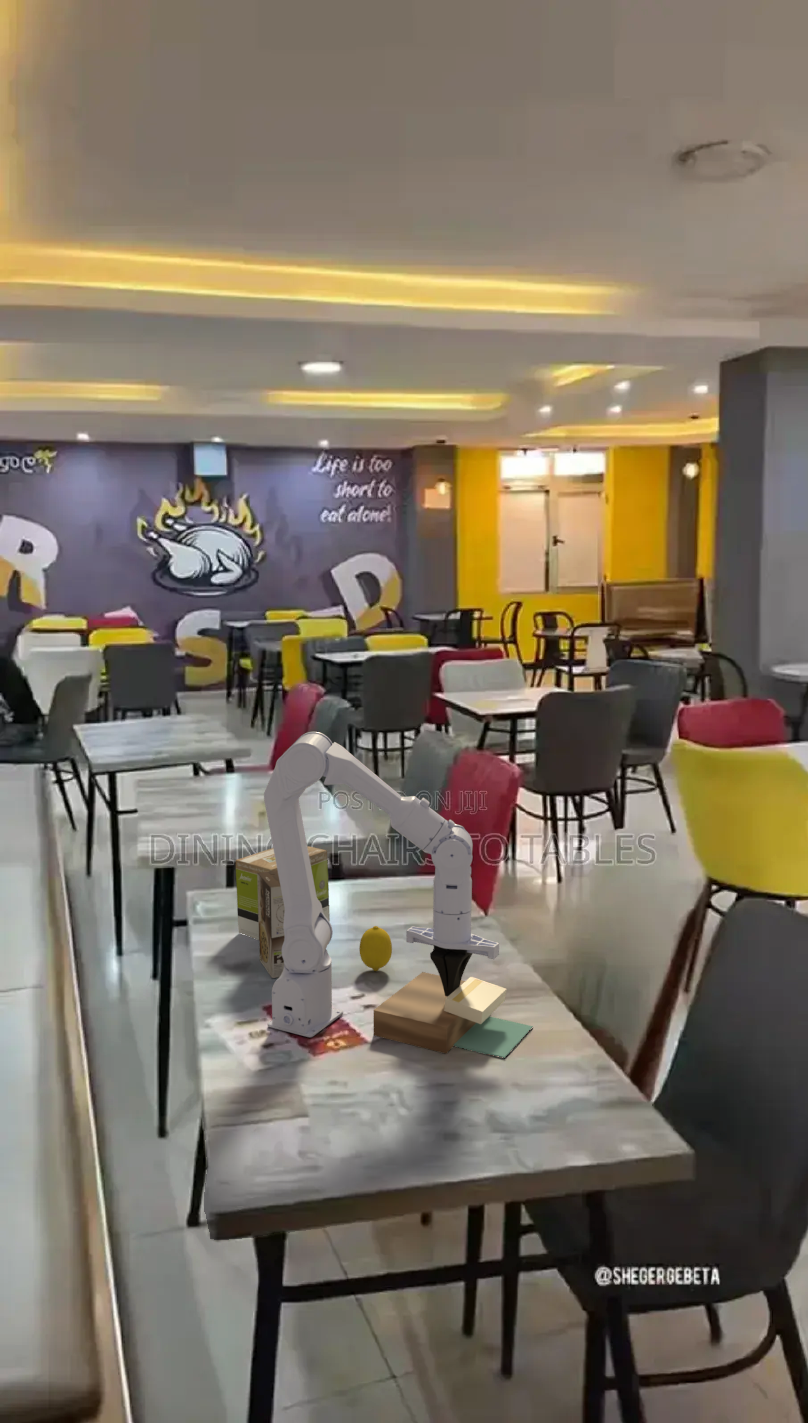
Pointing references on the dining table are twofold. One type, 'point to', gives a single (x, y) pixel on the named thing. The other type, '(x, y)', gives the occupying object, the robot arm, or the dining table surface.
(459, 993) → the cream rectangular block
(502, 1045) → the mat
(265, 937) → the coffee box
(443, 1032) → the brown wooden flat block
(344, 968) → the dining table surface
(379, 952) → the lemon
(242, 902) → the tea box
